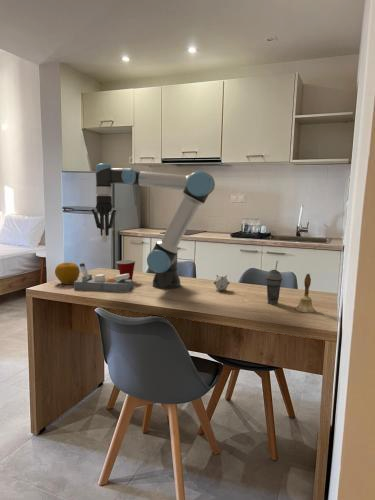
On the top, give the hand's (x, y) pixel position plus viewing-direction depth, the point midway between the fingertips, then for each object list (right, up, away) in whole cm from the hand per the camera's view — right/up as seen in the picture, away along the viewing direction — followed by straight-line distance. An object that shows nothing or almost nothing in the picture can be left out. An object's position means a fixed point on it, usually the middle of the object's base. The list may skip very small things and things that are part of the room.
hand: (104, 241), depth 185 cm
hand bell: (+93, -30, -28) cm, 102 cm away
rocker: (+9, -18, +2) cm, 20 cm away
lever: (-10, -19, +4) cm, 22 cm away
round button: (+3, -23, +3) cm, 23 cm away
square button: (-3, -21, +3) cm, 22 cm away
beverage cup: (+81, -29, -19) cm, 88 cm away
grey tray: (-1, -24, +4) cm, 24 cm away
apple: (-23, -23, +13) cm, 35 cm away
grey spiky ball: (+60, -25, +2) cm, 65 cm away
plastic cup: (+8, -22, +20) cm, 31 cm away
